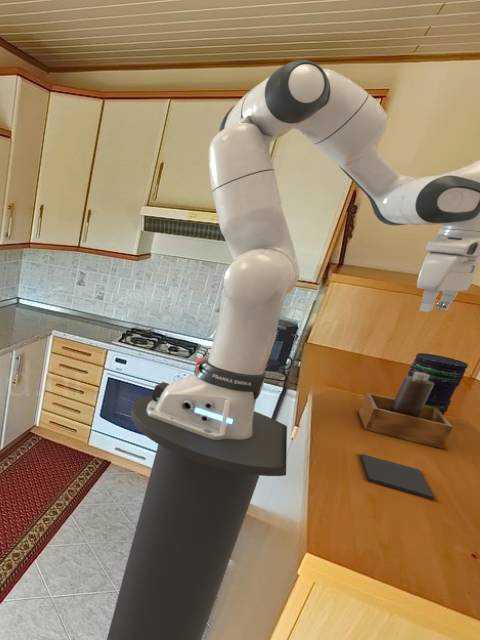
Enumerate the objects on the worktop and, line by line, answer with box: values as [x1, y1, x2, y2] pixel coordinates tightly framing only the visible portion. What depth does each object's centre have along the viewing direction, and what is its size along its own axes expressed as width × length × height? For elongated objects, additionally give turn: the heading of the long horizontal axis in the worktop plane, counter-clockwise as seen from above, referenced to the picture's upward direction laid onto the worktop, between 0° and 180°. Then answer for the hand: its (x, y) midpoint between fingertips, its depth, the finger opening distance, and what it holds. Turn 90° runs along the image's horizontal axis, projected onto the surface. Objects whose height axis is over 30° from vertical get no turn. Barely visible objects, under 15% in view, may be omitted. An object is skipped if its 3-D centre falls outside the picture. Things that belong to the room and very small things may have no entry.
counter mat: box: [360, 453, 435, 500], centre depth 90 cm, size 9×12×1 cm
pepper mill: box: [390, 372, 434, 418], centre depth 111 cm, size 5×5×13 cm
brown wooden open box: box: [358, 392, 454, 450], centre depth 113 cm, size 14×14×5 cm
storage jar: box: [407, 352, 469, 417], centre depth 123 cm, size 10×10×15 cm
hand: (433, 310), depth 107 cm, fingers open, 8 cm apart
